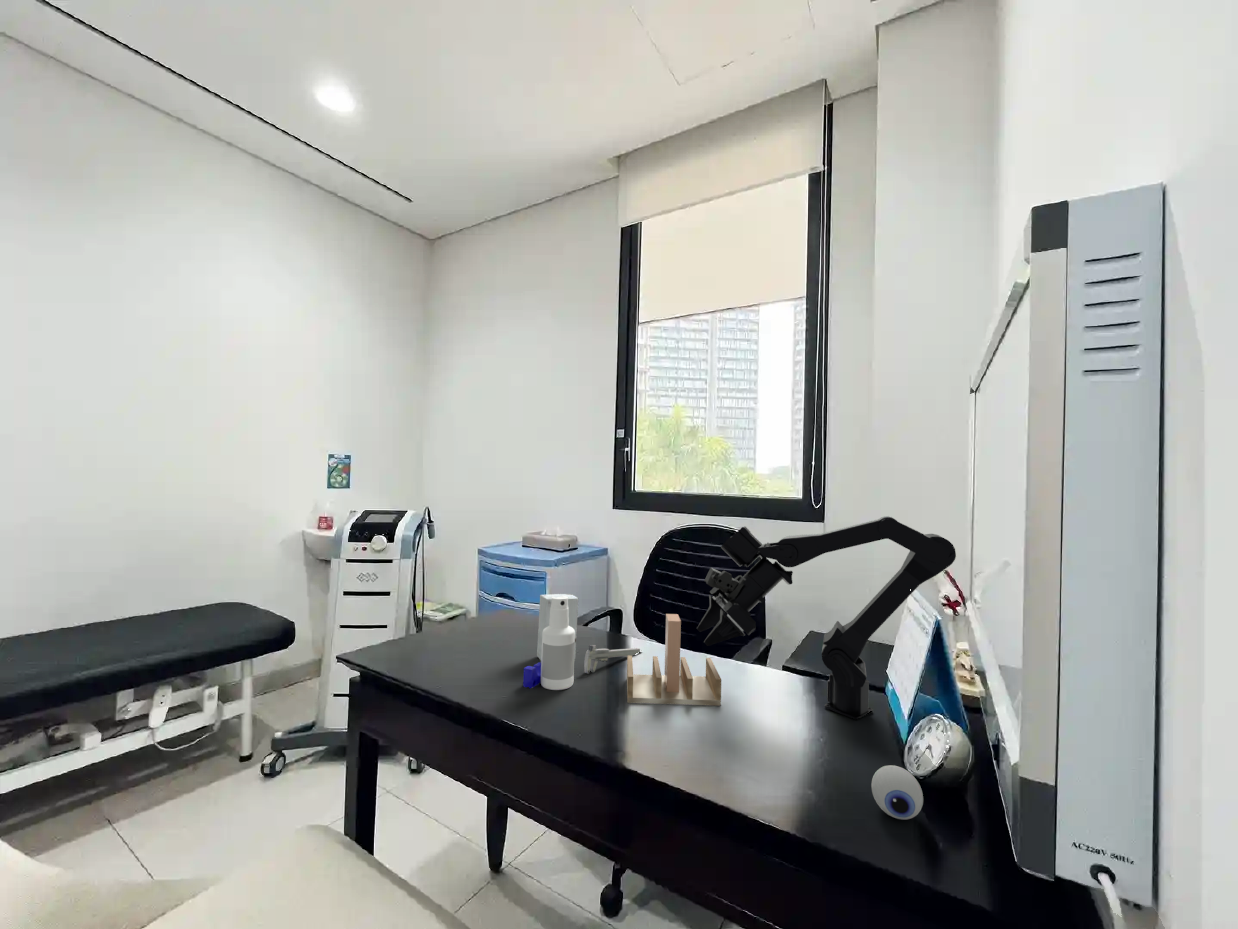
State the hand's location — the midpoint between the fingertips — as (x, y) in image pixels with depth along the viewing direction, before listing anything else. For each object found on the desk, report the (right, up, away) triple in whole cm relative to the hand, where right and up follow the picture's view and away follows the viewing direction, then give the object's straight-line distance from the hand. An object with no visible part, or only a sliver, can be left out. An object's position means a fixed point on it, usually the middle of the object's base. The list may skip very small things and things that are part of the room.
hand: (701, 636), depth 106 cm
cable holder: (-35, -11, +4) cm, 37 cm away
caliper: (-18, -12, +16) cm, 27 cm away
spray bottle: (-30, -11, +2) cm, 32 cm away
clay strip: (-6, -10, 0) cm, 12 cm away
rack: (-6, -11, 0) cm, 13 cm away
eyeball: (+20, -11, -38) cm, 44 cm away
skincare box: (-32, -11, +17) cm, 38 cm away
